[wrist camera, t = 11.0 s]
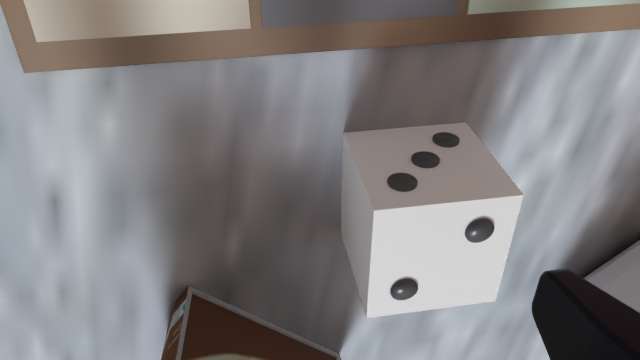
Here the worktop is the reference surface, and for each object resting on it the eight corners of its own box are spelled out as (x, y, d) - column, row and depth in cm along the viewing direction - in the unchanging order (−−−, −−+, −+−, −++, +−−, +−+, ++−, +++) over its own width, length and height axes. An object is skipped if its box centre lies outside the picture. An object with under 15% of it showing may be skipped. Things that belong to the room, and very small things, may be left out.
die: (340, 230, 24) (367, 319, 20) (342, 129, 21) (374, 210, 17) (450, 218, 25) (498, 302, 21) (467, 119, 22) (527, 194, 18)
